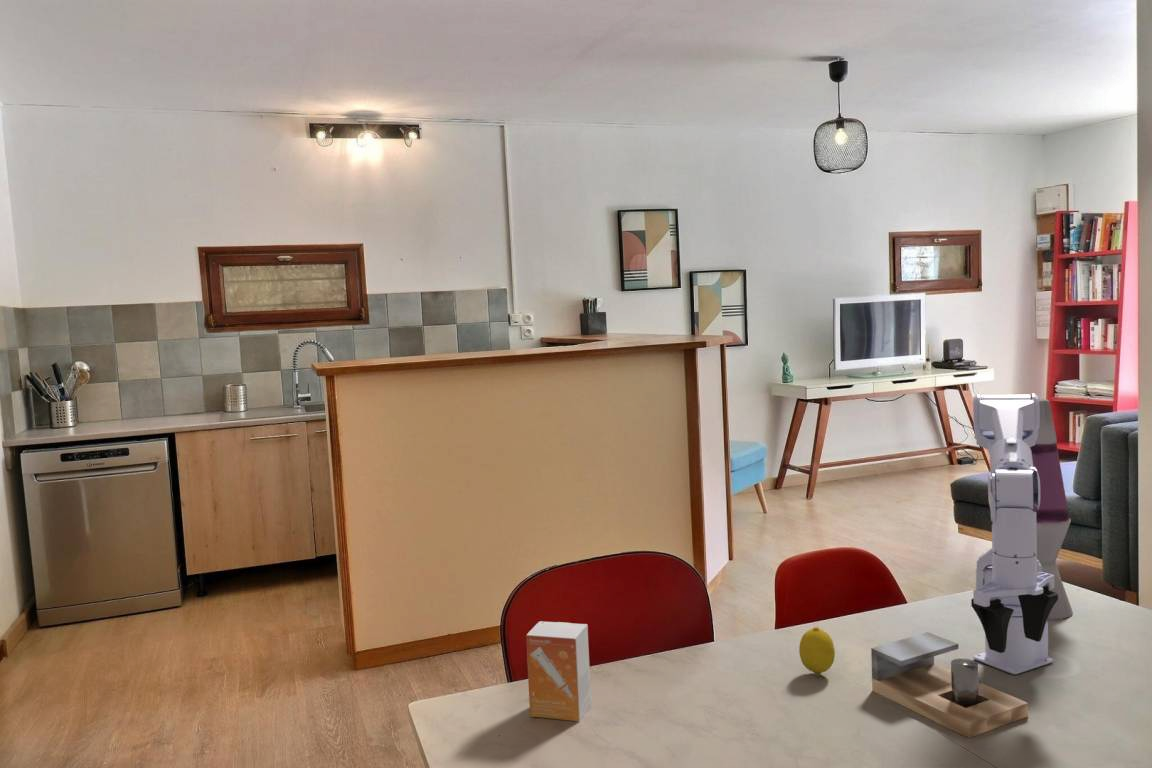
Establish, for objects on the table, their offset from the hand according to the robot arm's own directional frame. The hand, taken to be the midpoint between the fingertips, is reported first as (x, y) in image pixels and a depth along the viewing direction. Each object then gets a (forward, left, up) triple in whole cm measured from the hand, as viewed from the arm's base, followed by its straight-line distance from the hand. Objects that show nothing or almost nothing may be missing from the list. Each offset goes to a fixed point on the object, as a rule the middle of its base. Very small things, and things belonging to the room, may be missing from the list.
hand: (1015, 644), depth 129 cm
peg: (+6, -4, -10) cm, 12 cm away
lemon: (+15, -25, -10) cm, 31 cm away
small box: (+56, -36, -10) cm, 67 cm away
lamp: (-39, -25, -10) cm, 47 cm away
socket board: (+6, -7, -10) cm, 14 cm away
